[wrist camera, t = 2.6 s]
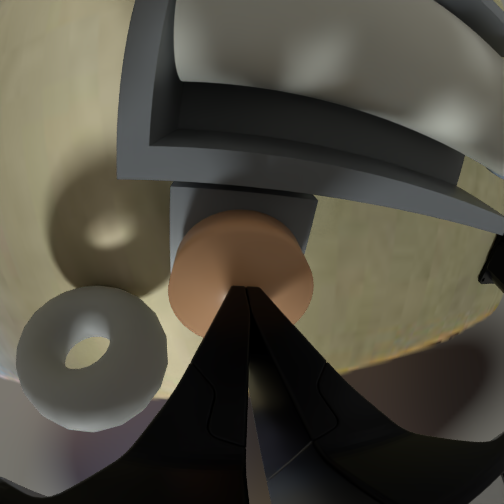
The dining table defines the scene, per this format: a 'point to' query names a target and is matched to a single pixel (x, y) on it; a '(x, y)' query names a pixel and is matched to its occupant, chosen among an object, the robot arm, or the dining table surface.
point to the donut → (101, 372)
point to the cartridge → (356, 62)
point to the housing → (278, 141)
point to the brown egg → (237, 267)
